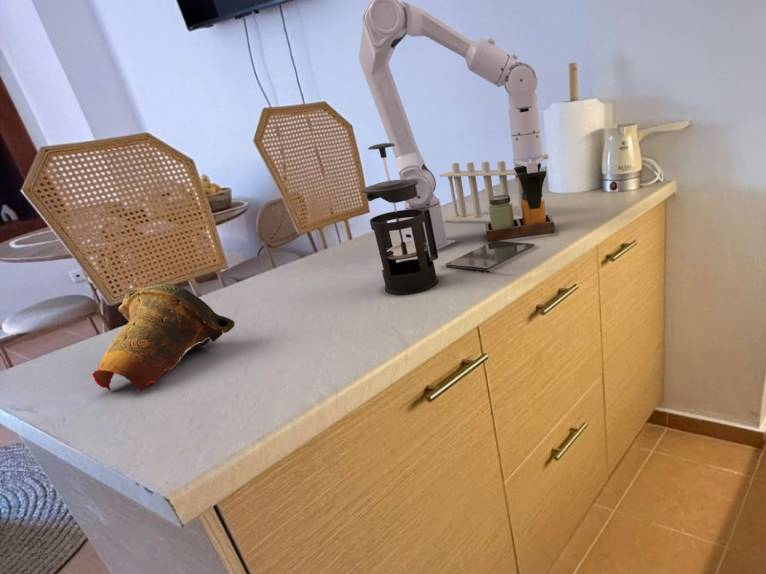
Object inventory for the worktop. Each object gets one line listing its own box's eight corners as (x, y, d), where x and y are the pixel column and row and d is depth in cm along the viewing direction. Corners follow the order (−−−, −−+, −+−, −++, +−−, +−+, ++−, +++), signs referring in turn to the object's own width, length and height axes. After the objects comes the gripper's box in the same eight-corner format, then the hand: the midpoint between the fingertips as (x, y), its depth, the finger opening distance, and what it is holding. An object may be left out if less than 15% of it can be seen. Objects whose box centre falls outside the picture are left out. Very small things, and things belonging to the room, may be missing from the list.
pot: (24, 341, 67) (116, 253, 79) (67, 397, 76) (145, 310, 87) (163, 373, 67) (235, 280, 79) (190, 425, 76) (251, 335, 88)
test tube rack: (447, 221, 137) (437, 165, 131) (458, 216, 140) (449, 161, 134) (532, 224, 124) (526, 162, 118) (542, 219, 127) (536, 158, 121)
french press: (405, 299, 90) (371, 149, 79) (371, 291, 96) (334, 150, 85) (456, 276, 98) (431, 136, 87) (421, 270, 104) (394, 138, 92)
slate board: (487, 272, 98) (487, 268, 97) (446, 267, 103) (445, 263, 103) (534, 247, 108) (534, 243, 107) (494, 244, 113) (494, 240, 113)
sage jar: (506, 239, 114) (501, 200, 110) (488, 237, 117) (482, 199, 113) (520, 232, 117) (515, 194, 113) (501, 231, 120) (497, 194, 116)
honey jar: (538, 234, 114) (534, 195, 110) (519, 233, 117) (515, 195, 113) (551, 228, 117) (548, 190, 113) (532, 227, 120) (528, 190, 116)
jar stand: (487, 244, 114) (486, 231, 113) (486, 235, 120) (485, 223, 119) (555, 235, 114) (554, 221, 113) (550, 226, 120) (549, 214, 119)
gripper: (550, 133, 101) (557, 209, 108) (541, 127, 114) (547, 195, 121) (512, 139, 101) (521, 214, 108) (507, 132, 114) (515, 199, 121)
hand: (533, 204), depth 114 cm, fingers open, 7 cm apart
